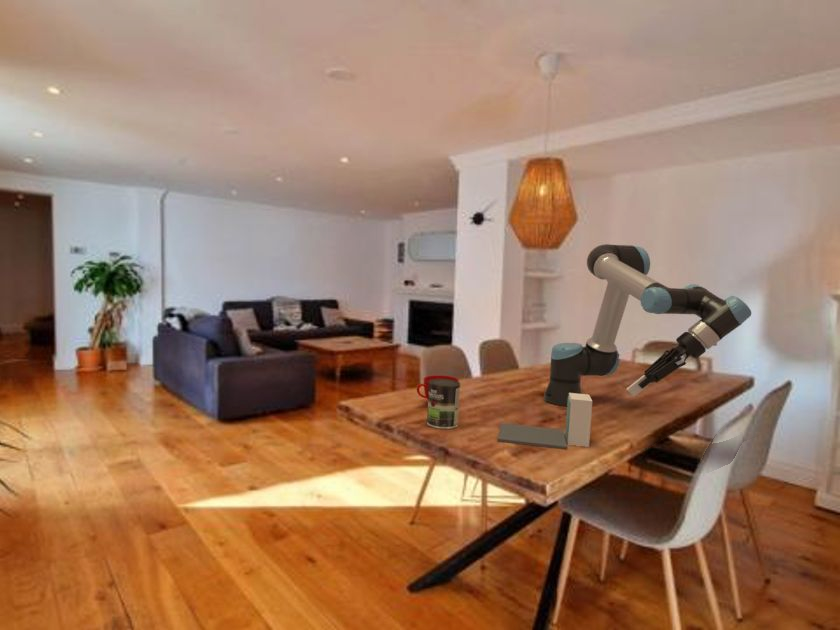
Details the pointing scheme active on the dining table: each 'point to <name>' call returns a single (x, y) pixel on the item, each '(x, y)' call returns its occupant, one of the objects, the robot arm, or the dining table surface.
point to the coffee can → (443, 403)
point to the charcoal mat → (532, 436)
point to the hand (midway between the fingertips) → (629, 392)
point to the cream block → (578, 419)
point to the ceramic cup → (426, 383)
